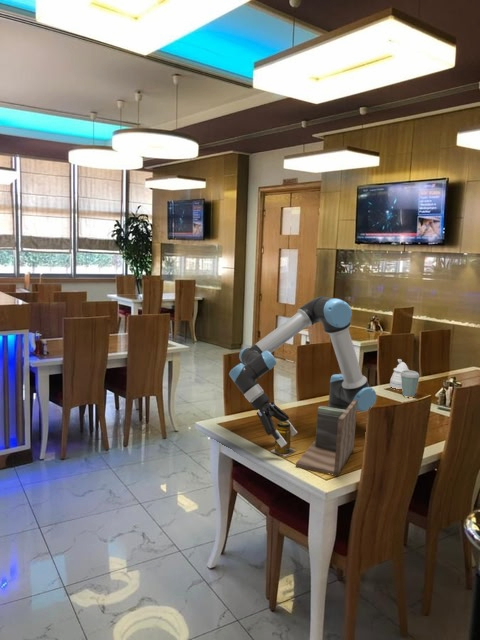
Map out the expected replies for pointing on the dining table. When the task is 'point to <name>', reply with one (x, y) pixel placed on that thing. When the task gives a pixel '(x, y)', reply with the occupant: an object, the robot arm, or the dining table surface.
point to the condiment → (286, 434)
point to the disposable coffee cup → (409, 382)
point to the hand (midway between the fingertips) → (289, 439)
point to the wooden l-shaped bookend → (331, 440)
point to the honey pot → (398, 375)
